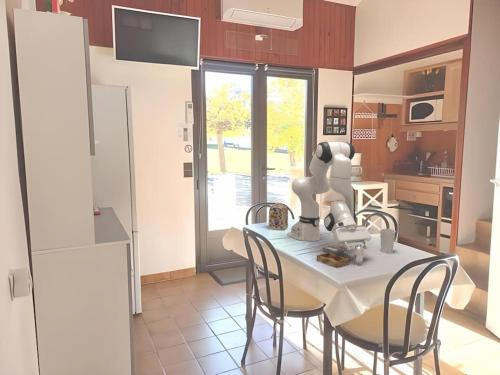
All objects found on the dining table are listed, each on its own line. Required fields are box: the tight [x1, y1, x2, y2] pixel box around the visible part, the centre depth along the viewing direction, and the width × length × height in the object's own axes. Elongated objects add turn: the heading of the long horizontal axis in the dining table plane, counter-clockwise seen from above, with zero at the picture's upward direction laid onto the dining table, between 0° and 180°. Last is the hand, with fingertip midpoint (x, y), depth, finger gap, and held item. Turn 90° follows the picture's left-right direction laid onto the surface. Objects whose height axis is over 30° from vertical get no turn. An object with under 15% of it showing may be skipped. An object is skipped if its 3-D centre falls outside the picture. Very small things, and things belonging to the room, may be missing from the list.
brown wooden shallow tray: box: [316, 252, 350, 269], centre depth 188 cm, size 14×9×3 cm, turn 37°
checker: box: [322, 245, 346, 256], centre depth 204 cm, size 9×7×3 cm
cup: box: [379, 228, 397, 254], centre depth 208 cm, size 8×8×12 cm
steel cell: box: [353, 244, 364, 266], centre depth 186 cm, size 4×4×10 cm
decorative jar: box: [268, 202, 289, 231], centre depth 260 cm, size 12×12×18 cm
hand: (358, 249), depth 186 cm, fingers open, 8 cm apart
